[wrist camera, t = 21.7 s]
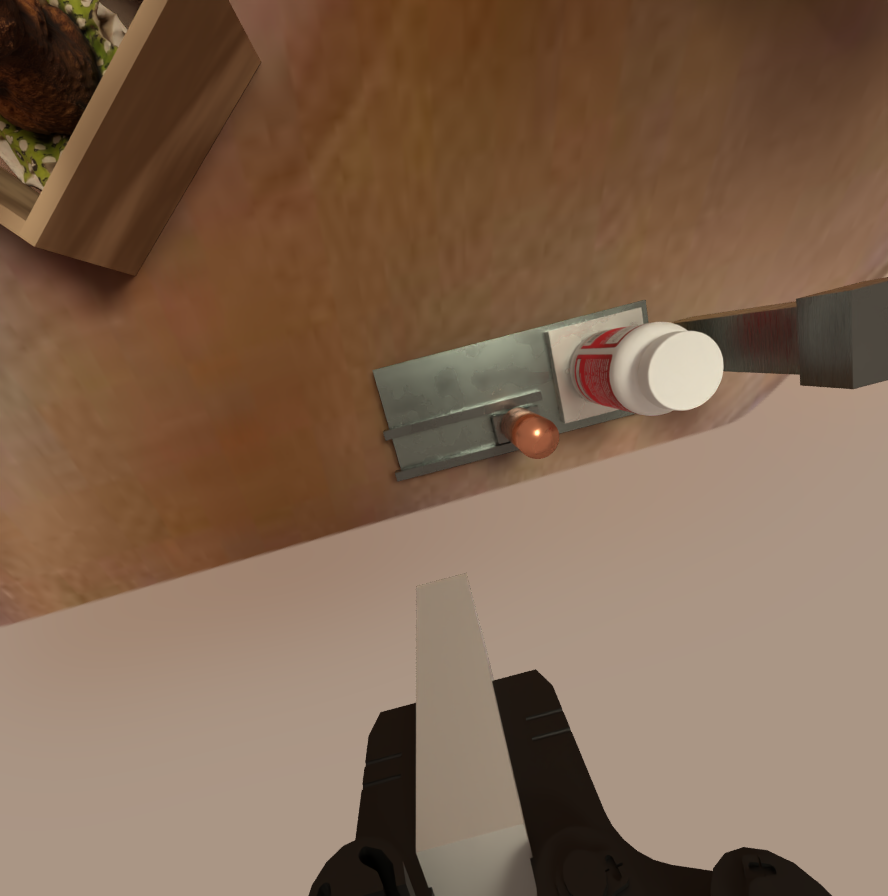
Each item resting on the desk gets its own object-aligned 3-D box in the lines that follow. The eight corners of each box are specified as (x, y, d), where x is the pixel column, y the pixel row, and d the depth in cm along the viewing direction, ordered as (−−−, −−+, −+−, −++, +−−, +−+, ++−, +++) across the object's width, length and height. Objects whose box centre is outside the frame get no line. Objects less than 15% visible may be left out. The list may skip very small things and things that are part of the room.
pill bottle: (614, 415, 36) (698, 440, 25) (554, 384, 35) (616, 395, 24) (651, 350, 35) (757, 347, 24) (591, 316, 34) (673, 297, 23)
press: (398, 474, 38) (384, 563, 22) (368, 371, 36) (327, 382, 20) (706, 393, 39) (925, 421, 22) (695, 286, 36) (929, 226, 20)
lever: (497, 444, 36) (515, 464, 30) (490, 412, 36) (507, 425, 29) (540, 433, 36) (569, 451, 30) (534, 401, 36) (561, 411, 29)
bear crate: (-123, 96, 30) (-349, -13, 21) (-5, -163, 27) (-206, -412, 18) (135, 276, 33) (34, 246, 24) (260, 61, 31) (198, -57, 22)
